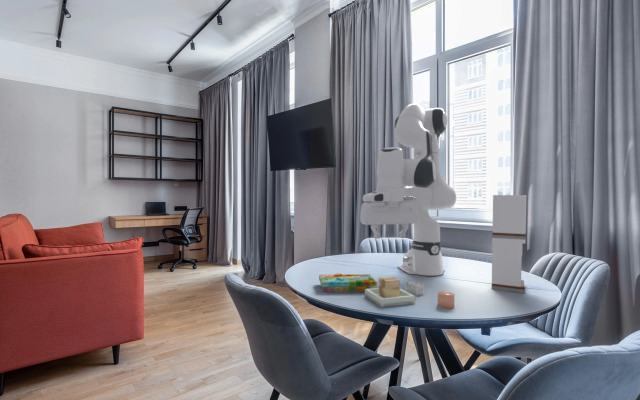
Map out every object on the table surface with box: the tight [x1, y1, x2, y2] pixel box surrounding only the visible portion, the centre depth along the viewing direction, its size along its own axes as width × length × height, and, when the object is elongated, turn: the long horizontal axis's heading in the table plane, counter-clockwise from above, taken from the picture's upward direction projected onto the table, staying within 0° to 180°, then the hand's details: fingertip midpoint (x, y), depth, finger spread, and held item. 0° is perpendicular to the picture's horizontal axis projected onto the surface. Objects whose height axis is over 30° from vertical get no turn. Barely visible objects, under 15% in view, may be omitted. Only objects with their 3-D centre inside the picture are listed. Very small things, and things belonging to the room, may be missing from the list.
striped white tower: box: [491, 194, 527, 294], centre depth 131 cm, size 11×11×35 cm
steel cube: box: [406, 281, 424, 298], centre depth 122 cm, size 4×4×4 cm
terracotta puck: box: [437, 290, 456, 310], centre depth 110 cm, size 5×5×4 cm
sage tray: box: [364, 287, 416, 308], centre depth 116 cm, size 12×12×2 cm
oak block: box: [378, 276, 401, 298], centre depth 116 cm, size 5×5×6 cm
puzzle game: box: [318, 273, 378, 293], centre depth 130 cm, size 12×5×20 cm
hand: (389, 237), depth 115 cm, fingers open, 8 cm apart
